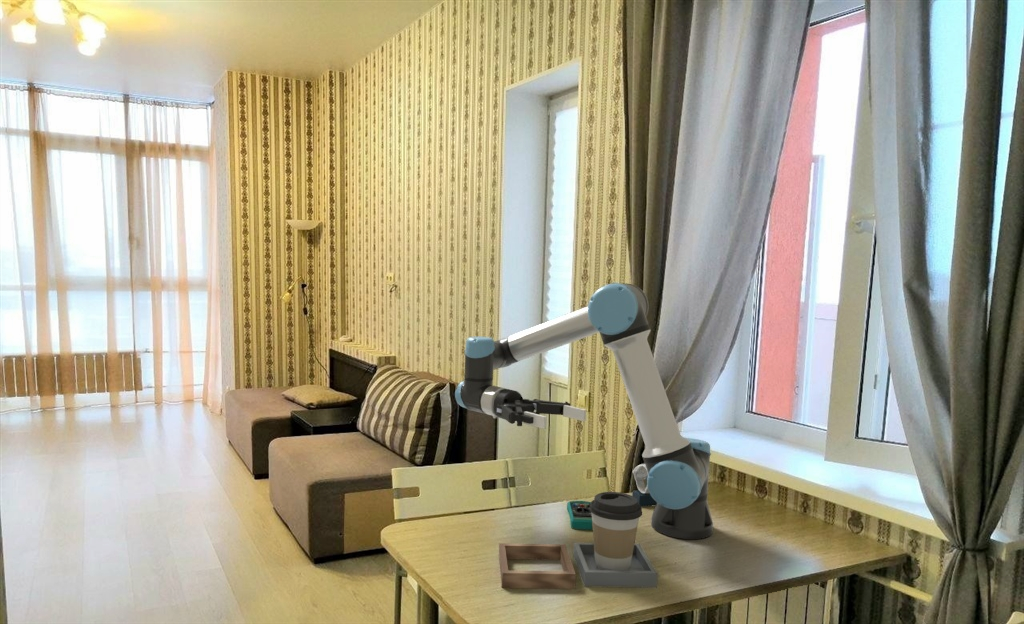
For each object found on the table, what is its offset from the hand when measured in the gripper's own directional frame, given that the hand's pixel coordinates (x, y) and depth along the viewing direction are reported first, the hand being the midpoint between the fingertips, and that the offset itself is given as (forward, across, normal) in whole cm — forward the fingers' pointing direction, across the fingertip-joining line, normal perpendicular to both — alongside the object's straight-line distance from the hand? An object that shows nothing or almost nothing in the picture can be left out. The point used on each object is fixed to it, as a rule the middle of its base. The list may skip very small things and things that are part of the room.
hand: (565, 419), depth 157 cm
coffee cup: (+16, 0, -29) cm, 33 cm away
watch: (-6, -41, -30) cm, 51 cm away
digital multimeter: (-8, -18, -31) cm, 36 cm away
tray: (+16, 0, -30) cm, 34 cm away
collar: (+6, +14, -30) cm, 34 cm away
